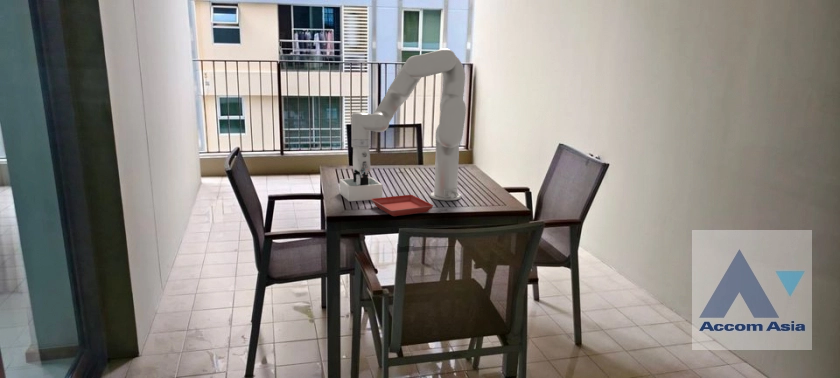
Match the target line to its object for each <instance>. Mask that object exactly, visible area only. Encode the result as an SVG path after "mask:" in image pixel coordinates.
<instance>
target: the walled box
mask: <svg viewBox="0 0 840 378" xmlns="http://www.w3.org/2000/svg"><path fill="white" fill-rule="evenodd" d="M339 194H340V195H341V196H342V197H343V198H344V199H345V200H347V202H359V201H372V200H371V199H374V198H383V183H381V182H379V181H378V180H377V179H375V178H374V177H372V176H371V177H368V185H360V186H356V182H354V181H353V178H342V179H341V178H340V179H339Z"/></svg>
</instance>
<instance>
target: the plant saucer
mask: <svg viewBox="0 0 840 378" xmlns="http://www.w3.org/2000/svg"><path fill="white" fill-rule="evenodd" d="M370 201H372V203H373V204H374V206H376V207H377V208H378V209H380V210H381V211H384V212H385V213H386V214H388V215H390V216H392V217H397V216H407V215H414V214H422V213H428V212H429V211H430V210H431V209H432V208H433V207H434V204H431V203H429V202H428V201H425V200H424V199H421V198H419V197H417V196H415V195H413V194H404V195H395V196H385V197H384V196H382V198H374V199H371V200H370Z"/></svg>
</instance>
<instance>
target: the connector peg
mask: <svg viewBox="0 0 840 378" xmlns="http://www.w3.org/2000/svg"><path fill="white" fill-rule="evenodd" d="M360 178H361V174H356V186H360Z"/></svg>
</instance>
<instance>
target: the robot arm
mask: <svg viewBox="0 0 840 378" xmlns="http://www.w3.org/2000/svg"><path fill="white" fill-rule="evenodd" d="M465 72H466V71H465V69H464V66H463V64H462V62H461V60H460V59H459V58H458V56H456V53H455V52H454V51H453V50H451V49H450V48H439V49H438V50H435V51H430V52H427V53H423V54H417V55H412V56H409V58H407V59H406V60H405V62H404V64H403V65H402V67H401V69H400V71H399V72H398V73H397V75H396V76H395V78H394V80H393V81H391V84H390V86H389V87H388V90H387V91H386V93H385V96H384V97H383V98H382V100H381V101H380V103H379V105H378V106H377V108H376V109H375V110H374V112H373V113H369V112H364V111H358V112H353V113H352V114H351V117H350V118H351V127H350V128H351V148H352V168H353V173H352V174H353V177H352V179H353V181H354V182H356V174H361V178H360V185H368V178H369V174H370V173H369V172H371V152H370V148H371V132H376V133H383V132H385V131H387V129H388V128H389V127H390V123H391V122H392V121H391V120H392V119H393V118H394V116H395V115H396V113H397V112H398V110H399V109H400V107H401V106H402V105H403V104H404V103H405V102H406V101H407V100H408V99H409V97H410V95H411V94H412V93H413V92H414V89H415V88H416V86H417V85H418V84H419V82H420V80H421V78H426V77H430V76H435V75H437V74H443V75H442V76H443V84H442V91H441V92H442V93H441V99H440V104H439V108H440V119H439V124H438V125H437V127H436V130H435V161H434V162H435V163H434V189H433V190H434V191H433V192H431V193H430V195H429V196H430V198H432V199H433V200H437V201H446V202H448V201H457V200H460V199H461V198H462V195H461V193H459V192H458V184H459V183H458V182H459V159H460V156H459V155H460V143H461V141H462V139H463V135H464V129H465V119H466V115H467V114H466V112H467V107H466V103H465V100H464V96H465V83H466V73H465Z"/></svg>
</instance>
